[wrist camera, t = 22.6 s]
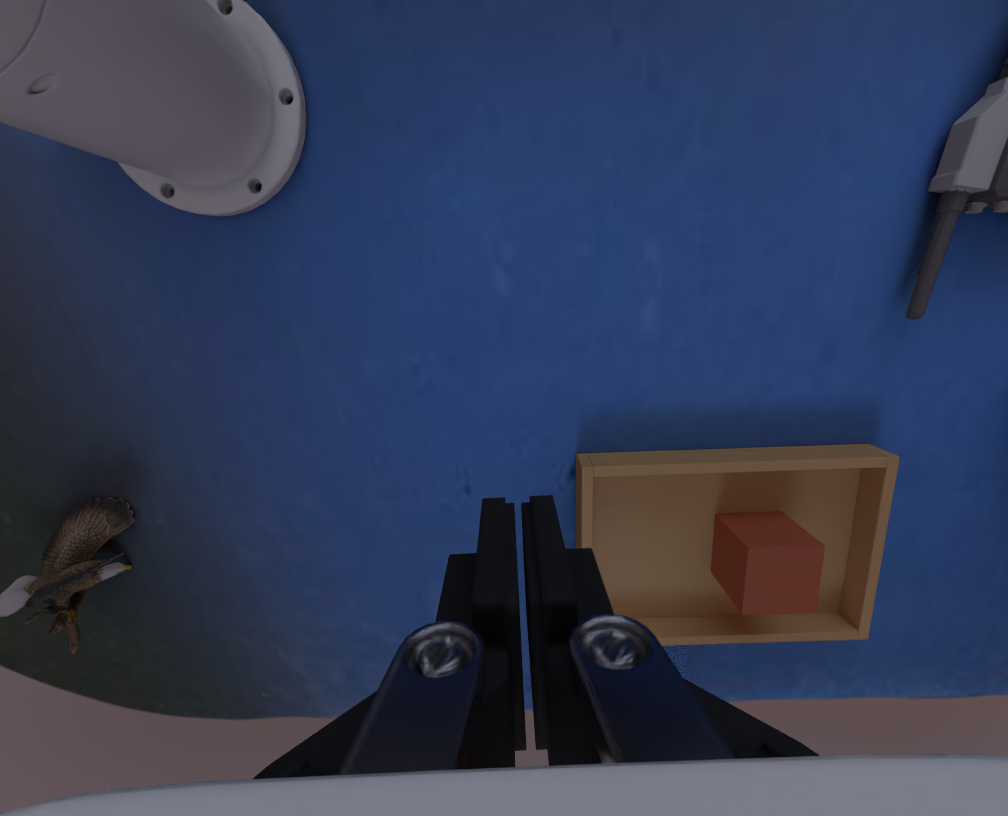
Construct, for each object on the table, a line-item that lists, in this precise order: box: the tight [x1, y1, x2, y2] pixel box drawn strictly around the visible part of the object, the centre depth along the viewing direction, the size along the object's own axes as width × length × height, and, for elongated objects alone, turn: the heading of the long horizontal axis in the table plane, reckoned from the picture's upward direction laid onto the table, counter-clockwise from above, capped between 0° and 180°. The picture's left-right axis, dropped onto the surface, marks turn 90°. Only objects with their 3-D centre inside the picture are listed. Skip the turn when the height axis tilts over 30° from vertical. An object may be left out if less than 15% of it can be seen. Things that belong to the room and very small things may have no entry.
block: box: [711, 511, 825, 615], centre depth 34 cm, size 5×5×5 cm
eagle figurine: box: [0, 497, 135, 654], centre depth 34 cm, size 8×7×9 cm
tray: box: [576, 444, 900, 646], centre depth 35 cm, size 22×15×3 cm
